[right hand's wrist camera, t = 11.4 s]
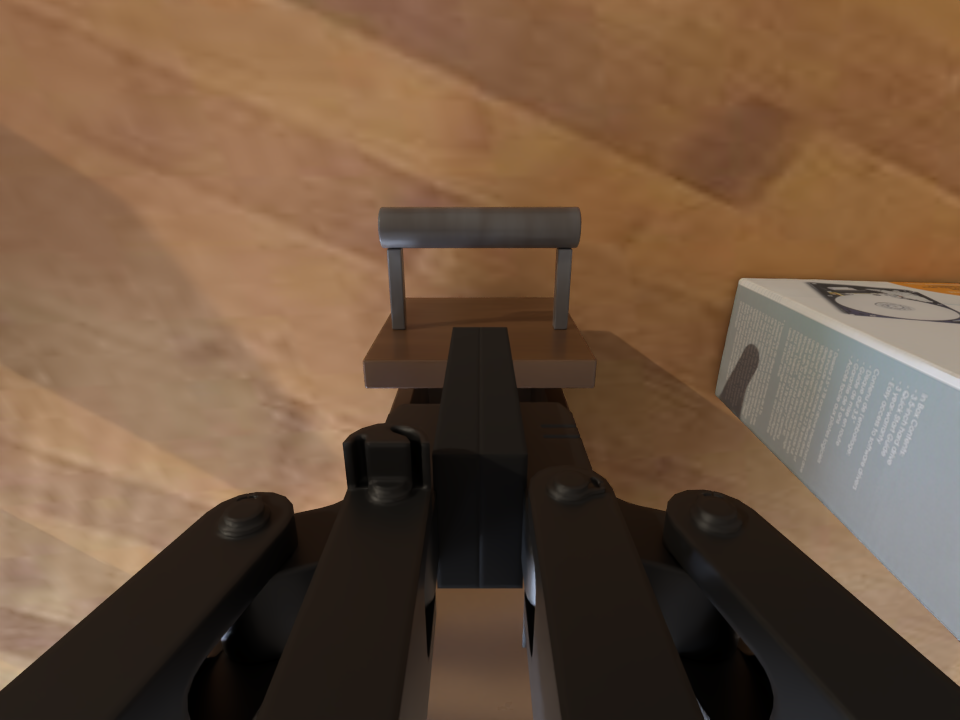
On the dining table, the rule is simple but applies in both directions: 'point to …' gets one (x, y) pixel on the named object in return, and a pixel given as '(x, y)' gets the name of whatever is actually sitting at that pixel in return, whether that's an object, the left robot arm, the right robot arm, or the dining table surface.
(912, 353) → the hard drive box
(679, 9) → the dining table surface
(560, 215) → the drawer
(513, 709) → the cabinet
